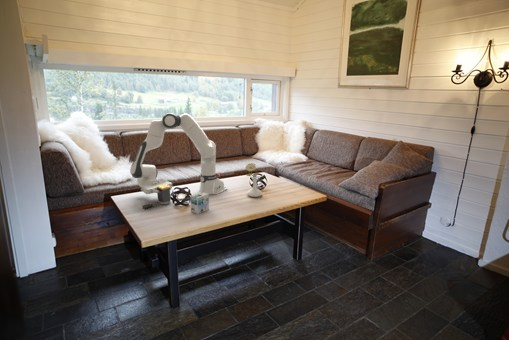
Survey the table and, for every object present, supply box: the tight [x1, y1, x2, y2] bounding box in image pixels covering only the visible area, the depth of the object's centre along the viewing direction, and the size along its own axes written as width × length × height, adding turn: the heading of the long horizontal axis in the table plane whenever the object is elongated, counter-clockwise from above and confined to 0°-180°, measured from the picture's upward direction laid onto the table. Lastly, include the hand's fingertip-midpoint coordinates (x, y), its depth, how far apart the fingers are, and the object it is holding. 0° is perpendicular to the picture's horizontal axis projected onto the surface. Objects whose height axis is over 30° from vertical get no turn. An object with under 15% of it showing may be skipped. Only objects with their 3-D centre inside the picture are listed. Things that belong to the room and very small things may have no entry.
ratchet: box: [142, 200, 171, 211], centre depth 202 cm, size 19×8×7 cm, turn 139°
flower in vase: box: [245, 162, 263, 198], centre depth 224 cm, size 13×11×25 cm
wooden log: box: [156, 185, 171, 203], centre depth 206 cm, size 6×6×10 cm
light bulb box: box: [190, 192, 210, 215], centre depth 196 cm, size 11×7×11 cm, turn 146°
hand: (164, 190), depth 204 cm, fingers open, 8 cm apart
